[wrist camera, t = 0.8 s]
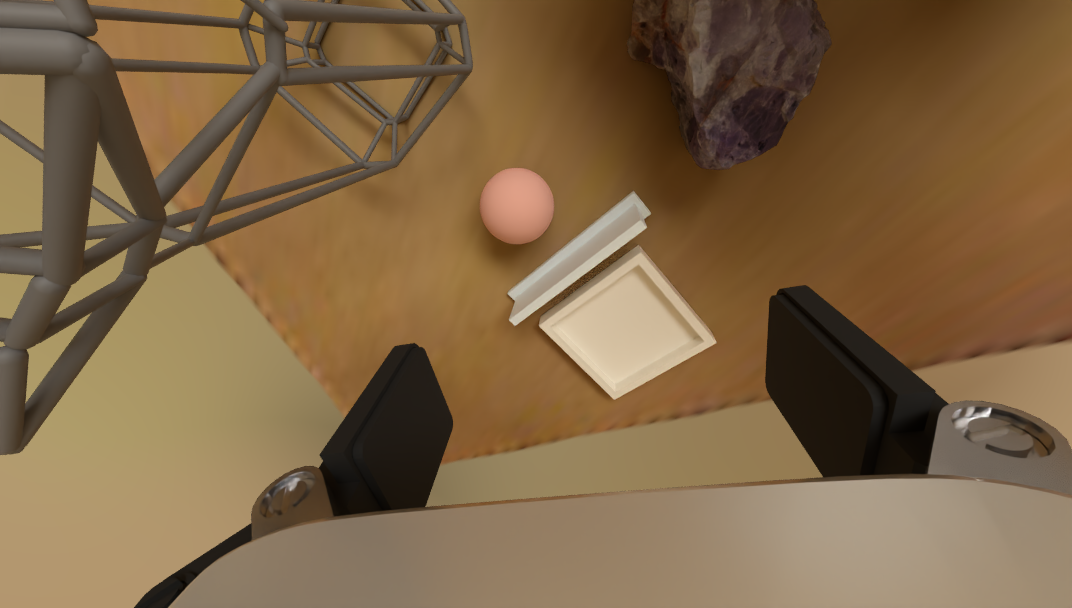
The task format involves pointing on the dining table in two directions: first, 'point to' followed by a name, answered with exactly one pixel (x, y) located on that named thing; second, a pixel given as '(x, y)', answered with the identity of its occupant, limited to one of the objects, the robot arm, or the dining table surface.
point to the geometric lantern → (103, 116)
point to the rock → (731, 68)
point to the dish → (627, 325)
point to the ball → (516, 206)
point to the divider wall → (579, 256)
